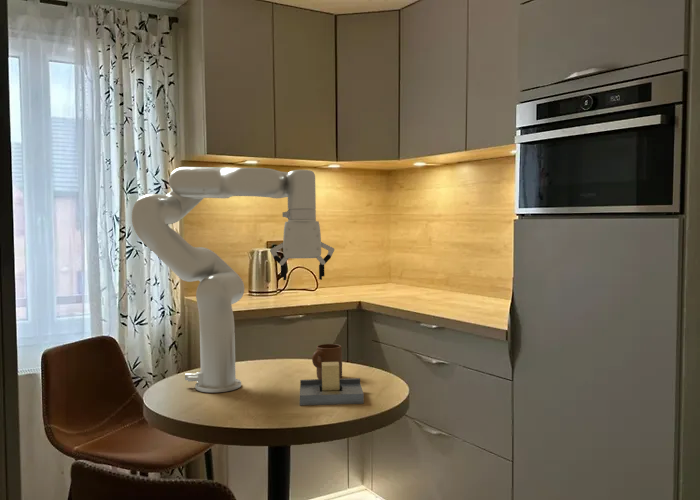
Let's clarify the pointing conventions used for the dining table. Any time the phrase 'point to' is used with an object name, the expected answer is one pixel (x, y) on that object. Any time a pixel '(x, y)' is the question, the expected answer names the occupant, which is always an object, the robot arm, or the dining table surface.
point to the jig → (331, 392)
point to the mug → (327, 357)
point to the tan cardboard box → (330, 376)
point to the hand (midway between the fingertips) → (302, 279)
